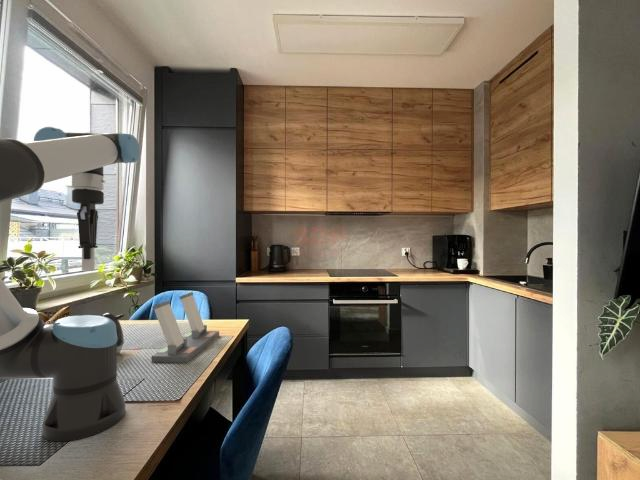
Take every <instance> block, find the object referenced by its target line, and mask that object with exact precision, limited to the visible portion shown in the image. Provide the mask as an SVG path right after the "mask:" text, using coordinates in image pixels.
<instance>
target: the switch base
mask: <svg viewBox="0 0 640 480" xmlns="http://www.w3.org/2000/svg"><path fill="white" fill-rule="evenodd" d="M203 325H204V328H205V329H204V332H203V333H201V334H200V335H199V330H191V331H189V332H187V333H186V334H184V335H182V338H183V340H184V343H183V347H181V348H180V349H178V350H177V351H176V345H169V346H168V345H167V346H166V347H164V348H162V349H161V350H159V351H157V352H156V353H154V354H153V355H151V363H180V364H181V363H183V364H185V363H186V364H187V363H188V362H189V361H191V360H192V359H193V358H194V357H195V356H196V355H197V354H199V353H200V352H201V351H202V350H204V349H205V348H206V347H207V346H209V345H210V344H211V343H212V342H213V341H215V340H216V339H218V338H219V336H220V331H219V330H208V325H207V324H203Z"/></svg>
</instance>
